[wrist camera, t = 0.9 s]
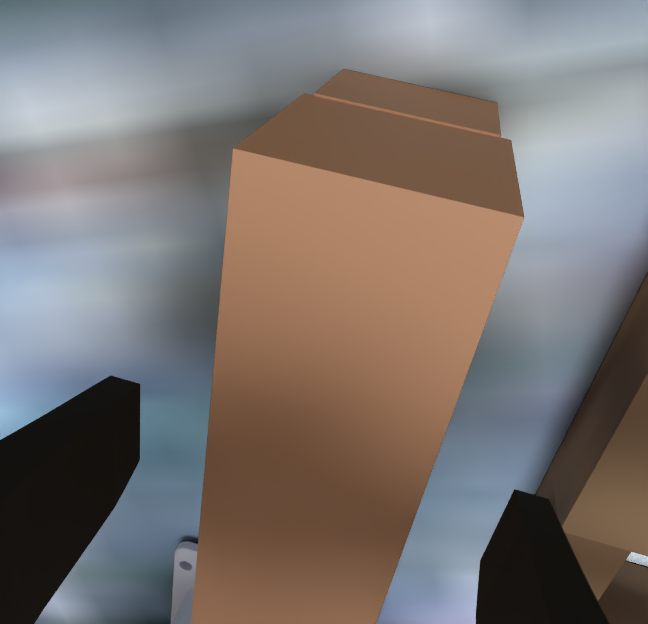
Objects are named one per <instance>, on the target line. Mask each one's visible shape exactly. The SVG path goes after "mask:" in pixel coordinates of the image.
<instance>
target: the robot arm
mask: <svg viewBox="0 0 648 624" xmlns="http://www.w3.org/2000/svg"><path fill="white" fill-rule="evenodd" d="M139 460H140V384H139V383H135V382H131V381H128V380H124V379H121V378H117V377H114V376H109V377H108V378H106V379H104V380H102V381H101V382H99V383H97V384H95V385H94V386H92V387H90V388H89V389H87V390H85V391H84V392H82V393H80V394H79V395H77V396H75V397H74V398H72V399H70V400H69V401H67V402H65V403H64V404H62V405H60V406H59V407H57V408H55V409H54V410H52V411H50V412H48V413H47V414H45V415H43V416H42V417H40V418H38V419H36V420H35V421H33V422H31V423H29V424H28V425H26V426H24V427H22V428H21V429H19V430H17V431H16V432H14V433H12V434H10V435H9V436H7V437H5V438H3V439H1V440H0V624H34V623H35V622H36V620H37V619H38V617H39V615H40V614H41V612H42V611H43V609H44V608H45V606H46V605H47V603H48V602H49V601H50V599H51V598H52V596H53V595H54V593H55V592H56V591H57V589H58V588H59V586H60V585H61V584H62V582H63V581H64V579H65V578H66V576H67V575H68V574H69V572H70V571H71V569H72V568H73V566H74V565H75V564H76V562H77V561H78V559H79V558H80V556H81V555H82V554H83V552H84V551H85V549H86V548H87V546H88V545H89V544H90V542H91V541H92V539H93V538H94V536H95V535H96V534H97V532H98V531H99V529H100V528H101V526H102V525H103V523H104V522H105V521H106V519H107V518H108V516H109V515H110V513H111V512H112V510H113V509H114V507H115V506H116V504H117V502H118V500H119V498H120V496H121V495H122V493H123V491H124V489H125V487H126V486H127V484H128V482H129V480H130V478H131V476H132V474H133V472H134V470H135V468H136V466H137V464H138V462H139ZM197 550H198V544H196V543H193V542H188V541H186V542H181V543H180V544H179V545H178V547H177V549H176V551H175V557H174V574H173V591H172V608H171V624H191V618H192V606H193V595H194V584H195V573H196V561H197ZM476 624H610V623H609V621H608V619H607V617H606V616H605V614H604V612H603V610H602V608H601V606H600V604H599V602H598V600H597V598H596V596H595V594H594V592H593V591H592V589H591V587H590V585H589V583H588V581H587V578H586V576H585V574H584V572H583V570H582V568H581V566H580V564H579V562H578V560H577V558H576V556H575V554H574V552H573V549H572V547H571V545H570V543H569V541H568V539H567V536H566V534H565V532H564V530H563V528H562V526H561V523H560V521H559V519H558V517H557V515H556V512H555V510H554V508H553V506H552V504H551V502H550V501H549V499H547V498H543V497H540V496H536V495H533V494H529V493H526V492H522V491H519V490H515V489H514V492H513V494H512V496H511V498H510V500H509V502H508V504H507V506H506V508H505V510H504V512H503V514H502V517H501V519H500V521H499V523H498V525H497V527H496V529H495V531H494V533H493V535H492V537H491V540H490V542H489V544H488V546H487V548H486V550H485V552H484V554H483V556H482V558H481V560H480V571H479V582H478V594H477V608H476Z"/></svg>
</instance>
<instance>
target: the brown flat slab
mask: <svg viewBox="0 0 648 624" xmlns="http://www.w3.org/2000/svg"><path fill="white" fill-rule="evenodd" d="M536 496H540V497H543V498H547V499H549V501H550V502H551V504H552V506H553V508H554V510H555V512H556V515H557V517H558V519H559V521H560V523H561V526H562V528H563V530H564V532H565V534H566V536H567V539H568V541H569V543H570V545H571V547H572V549H573V552H574V554H575V556H576V558H577V560H578V562H579V564H580V566H581V568H582V570H583V572H584V574H585V576H586V578H587V581H588V583H589V585H590V587H591V589H592V591H593V592H594V594H595V596H596V598H597V600H598V602H599V604H600V606H601V608H602V610H603V612H604V614H605V616H606V617H607V619H608V621H609V623H610V624H648V568H647V567H644V566H640V565H637V564H633V563H630V562H626V561H625V560H626V559H627V557H628V556H629V554H630V553H631V552H635V553H638V554H642V555H645V556H648V274H647V276H646V278H645V280H644V282H643V284H642V285H641V287H640V289H639V291H638V293H637V295H636V297H635V299H634V301H633V303H632V305H631V307H630V309H629V311H628V313H627V315H626V317H625V319H624V321H623V323H622V325H621V327H620V329H619V331H618V333H617V335H616V337H615V339H614V341H613V343H612V345H611V347H610V349H609V351H608V353H607V355H606V357H605V359H604V361H603V363H602V365H601V367H600V369H599V371H598V373H597V374H596V376H595V378H594V380H593V382H592V384H591V386H590V388H589V390H588V392H587V394H586V396H585V398H584V400H583V402H582V404H581V406H580V408H579V410H578V412H577V414H576V416H575V418H574V420H573V422H572V424H571V426H570V428H569V430H568V432H567V434H566V436H565V438H564V440H563V442H562V444H561V446H560V448H559V450H558V452H557V454H556V456H555V458H554V460H553V461H552V463H551V465H550V467H549V469H548V471H547V473H546V475H545V477H544V479H543V481H542V483H541V485H540V487H539V489H538V491H537V493H536Z"/></svg>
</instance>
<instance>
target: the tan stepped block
mask: <svg viewBox="0 0 648 624" xmlns="http://www.w3.org/2000/svg"><path fill="white" fill-rule="evenodd" d="M500 137H501V130H500V121H499V113H498V105H497V103H496V102H491V101H487V100H482V99H478V98H473V97H469V96H464V95H459V94H455V93H450V92H446V91H441V90H437V89H432V88H428V87H423V86H418V85H414V84H409V83H405V82H400V81H396V80H391V79H386V78H382V77H377V76H373V75H368V74H364V73H359V72H354V71H350V70H345V69H343V70H342V71H341V72H340V73H338V74H337V75H336V76H335V77H334V78H332V79H331V80H330V81H329V82H327V83H326V84H325V85H324V86H323V87H321V88H320V89H319V90H318V91H316V92H315V93H314V96H312V95H308V94H303V95H302V96H300V97H299V98H298V99H296V100H295V101H294V102H292V103H291V104H290V105H289V106H287V107H286V108H285V109H283V110H282V111H281V112H280V113H278V114H277V115H276V116H274V117H273V118H272V119H271V120H269V121H268V122H267V123H265V124H264V125H263V126H261V127H260V128H259V129H258V130H256V131H255V132H254V133H252V134H251V135H250V136H249V137H247V138H246V139H245V140H243V141H242V142H241V143H239V144H238V145H237V146H236V147H234V148H233V156H232V167H231V178H230V189H229V201H228V212H227V223H226V234H225V246H224V257H223V268H222V279H221V291H220V302H219V313H218V325H217V336H216V347H215V358H214V370H213V381H212V392H211V403H210V415H209V426H208V437H207V449H206V460H205V471H204V482H203V494H202V505H201V516H200V527H199V539H198V550H197V561H196V573H195V584H194V595H193V606H192V618H191V624H376V622H377V620H378V617H379V614H380V611H381V609H382V606H383V603H384V600H385V598H386V595H387V592H388V589H389V587H390V584H391V581H392V578H393V576H394V573H395V570H396V568H397V565H398V562H399V559H400V557H401V554H402V551H403V548H404V546H405V543H406V540H407V537H408V535H409V532H410V529H411V526H412V524H413V521H414V518H415V515H416V513H417V510H418V507H419V504H420V502H421V499H422V496H423V494H424V491H425V488H426V485H427V483H428V480H429V477H430V474H431V472H432V469H433V466H434V463H435V461H436V458H437V455H438V452H439V450H440V447H441V444H442V441H443V439H444V436H445V433H446V430H447V428H448V425H449V422H450V419H451V417H452V414H453V411H454V409H455V406H456V403H457V400H458V398H459V395H460V392H461V389H462V387H463V384H464V381H465V378H466V376H467V373H468V370H469V367H470V365H471V362H472V359H473V356H474V354H475V351H476V348H477V345H478V343H479V340H480V337H481V334H482V332H483V329H484V326H485V324H486V321H487V318H488V315H489V313H490V310H491V307H492V304H493V302H494V299H495V296H496V293H497V291H498V288H499V285H500V282H501V280H502V277H503V274H504V271H505V269H506V266H507V263H508V260H509V258H510V255H511V252H512V250H513V247H514V244H515V241H516V239H517V236H518V233H519V230H520V228H521V225H522V222H523V219H524V213H523V207H522V201H521V196H520V190H519V184H518V178H517V172H516V166H515V161H514V155H513V149H512V143H511V140H508V139H503V138H500Z"/></svg>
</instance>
